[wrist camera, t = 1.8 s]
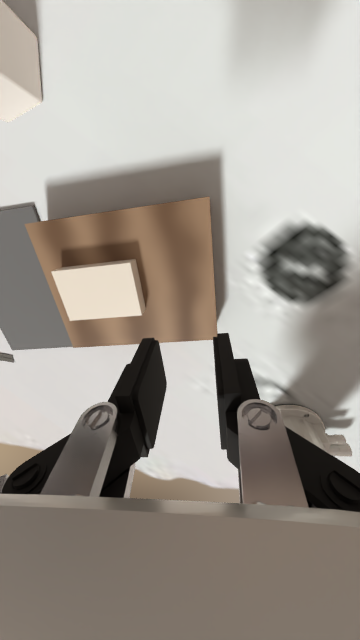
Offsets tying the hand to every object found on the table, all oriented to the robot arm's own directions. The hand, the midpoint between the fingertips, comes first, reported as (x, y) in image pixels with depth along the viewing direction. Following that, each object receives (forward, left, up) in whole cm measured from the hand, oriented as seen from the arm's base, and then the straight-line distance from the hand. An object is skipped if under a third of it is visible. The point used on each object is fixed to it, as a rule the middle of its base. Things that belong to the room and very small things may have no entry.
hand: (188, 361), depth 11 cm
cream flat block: (+11, 0, -15) cm, 19 cm away
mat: (+26, 0, -19) cm, 32 cm away
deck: (+8, 0, -19) cm, 21 cm away
